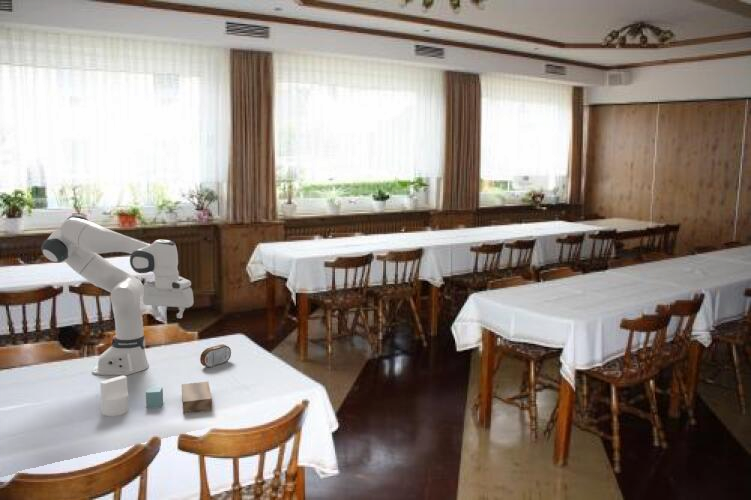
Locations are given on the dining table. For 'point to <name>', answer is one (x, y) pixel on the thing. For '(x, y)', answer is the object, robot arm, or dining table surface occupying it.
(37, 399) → the dining table surface
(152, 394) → the teal cube
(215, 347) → the tin
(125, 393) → the cylinder with rectangular tab
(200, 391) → the walnut block
